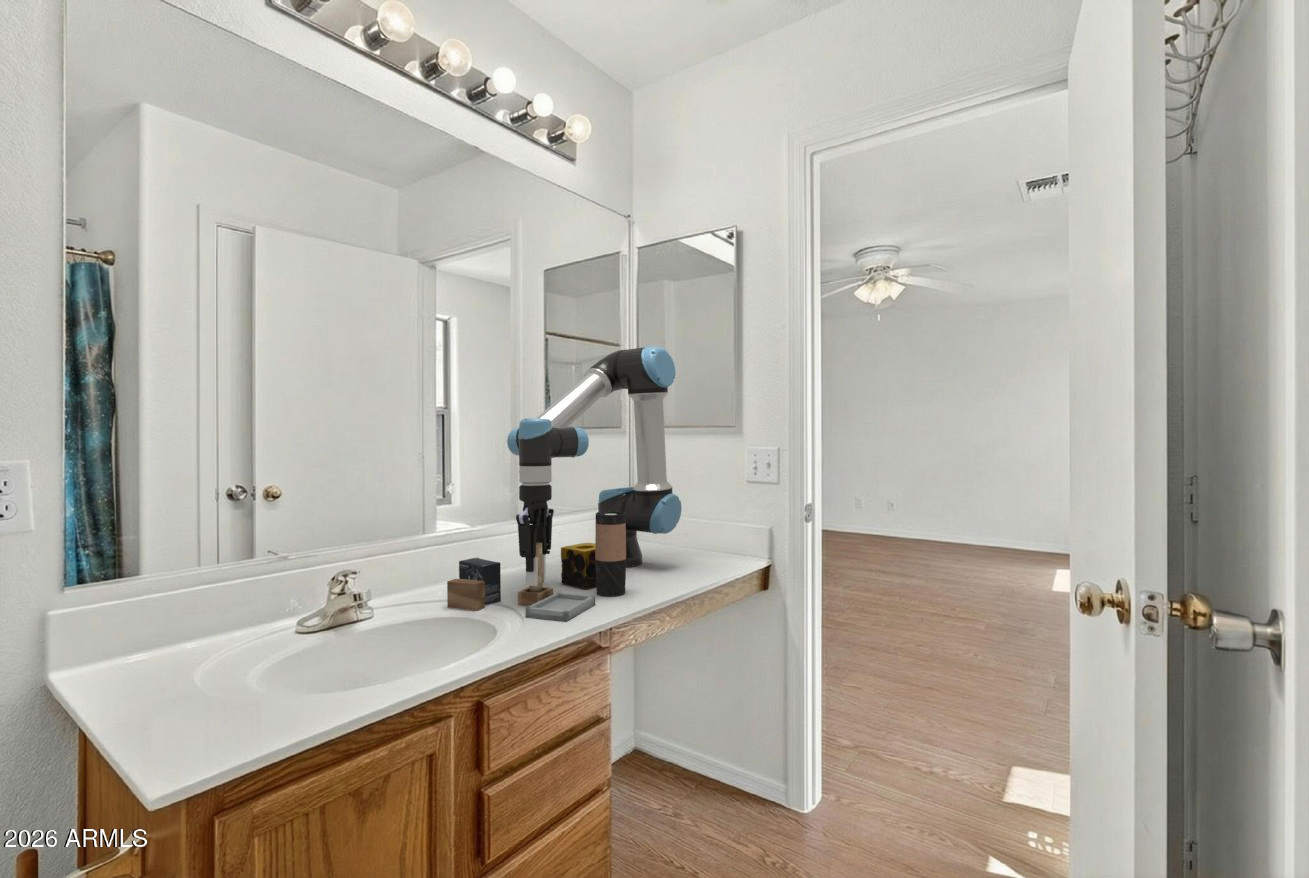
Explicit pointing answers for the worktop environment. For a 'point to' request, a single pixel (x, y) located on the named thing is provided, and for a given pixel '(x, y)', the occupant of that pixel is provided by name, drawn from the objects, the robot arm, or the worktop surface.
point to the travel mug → (610, 553)
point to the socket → (533, 596)
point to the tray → (560, 606)
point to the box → (483, 576)
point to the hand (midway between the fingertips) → (535, 583)
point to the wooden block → (466, 594)
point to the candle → (579, 565)
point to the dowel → (539, 555)
